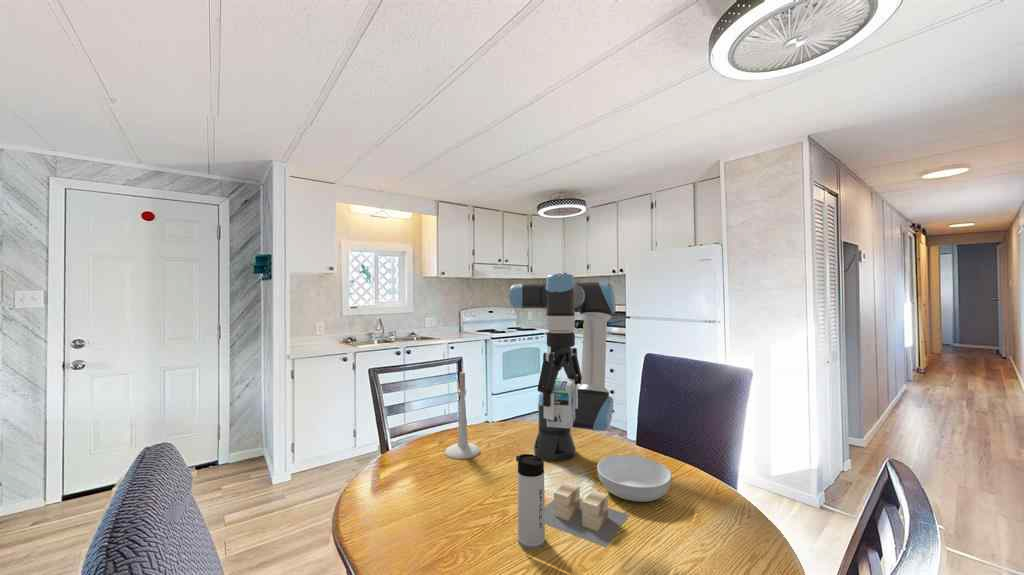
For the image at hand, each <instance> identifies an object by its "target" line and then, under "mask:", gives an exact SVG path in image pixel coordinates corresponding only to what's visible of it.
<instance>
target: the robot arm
mask: <svg viewBox="0 0 1024 575" xmlns="http://www.w3.org/2000/svg"><path fill="white" fill-rule="evenodd" d="M508 301H509V303H510V306H511V307H512V308H513V309H521V310H523V309H546V330H547V333H546V346H548V347H549V348H550V351H549V352H543V354H542V364H541V370H540V376H539V379H538V380H539V381H538V385H537V392H539V394H538V403H537V407H538V409H537V410H538V412H537V413H538V433H537V436H536V440H535V442H534V446H533V453H534V454H533V455H536V456H539V457H541V458H542V460H543V461H548V462H565V461H569V460H572V459H573V458H575V456H576V455H577V454H576V446H575V442H574V439H573V437H572V433H571V429H569V428H557V427H547V419H550V420H554V393H552V390H553V387H554V384H555V381H556V378H558V376H559V371H561V370H562V369H563V371H564V373H565V375H566V377H567V379H575V420H574V423H573V426H572V429H573V428H574V429H583V430H589V431H590V430H591V431H599V432H600V431H601V432H604V431H605V432H606V431H607V430H608V429H609V428H610V425H611V421H612V418H613V412H614V398H613V397H611V396H610V391H609V390H608V389H607V388H606V365H607V364H606V362H607V361H606V359H607V358H606V357H607V356H606V355H607V332H608V331H607V330H608V327H607V325H608V321H609V320H611V318H612V314H614V313H616V311H617V310H616V308H617V304H616V303H617V302H616V297H615V291H614V288H613V285H612V284H611V283H610V282H607V281H606V282H604V281H591V282H590V281H589V282H586V281H585V282H575V277H574V275H573V274H571V273H553V274H551V273H550V274H548V275H547V276H546V282H545V283H518V284H517V283H516V284H512V285H511V286H510V288H509V292H508ZM575 313H579V317H580V318H581V319H582V320H583V328H582V331H583V333H582V351H581V352H582V353H581V368H580V363H579V359H578V349H577V348H576V347H575V345H576V342H575V341H576V340H575V339H576V334H575V332H573V331H575V330H576V326H575V323H576V322H575ZM574 347H575V348H574ZM578 385H579V386H578Z"/></svg>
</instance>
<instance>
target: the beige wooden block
mask: <svg viewBox="0 0 1024 575" xmlns="http://www.w3.org/2000/svg"><path fill="white" fill-rule="evenodd" d="M580 493H581V492H580V485H578V484H574V483H571V482H568V481H566V482H564V483H563V484H562V485H561V486H559V487H558V489H556V490H555V491H554V492H553V500H554V516H556V517H559V518H562V519H565V520H567V521H568V520H569V519H570V518H571V517H572V516H573V515H574V514H575V513H576V512H577V511H578V510H579V509H580V499H581V498H580Z"/></svg>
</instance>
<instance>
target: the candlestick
mask: <svg viewBox="0 0 1024 575" xmlns="http://www.w3.org/2000/svg"><path fill="white" fill-rule="evenodd" d="M457 392H458V396H459V414H458V415H459V416H458V433H457V434H458V436H457V443H454V444H452V445H450V446H447V448H446V449H445V456H446V457H447V458H450V459H452V460H468V459H472V458H475V457H477V456H478V455H479V454H480V453H481V448H480V447H479V446H478V445H477V444H474V443H471V442H469V441H468V440H469V439H468V426H467V412H466V411H467V409H466V398H465V397H466V395H467V392H468V389H466V372H463V371H460V372H459V389H457Z"/></svg>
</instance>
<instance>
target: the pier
mask: <svg viewBox="0 0 1024 575" xmlns="http://www.w3.org/2000/svg"><path fill="white" fill-rule="evenodd" d="M582 500H583V501H582V526H584V527H587V528H590V529H592V530H595V531H598V530H599V529H600V527H601V526H602V525H603V524H604V522H605V521H606V520H607V519H608V508H609V494H608V493H604V492H601V491H598V490H595V489H593V490H592V491H591V492H590V493H589V494H588V495H587V496H586V497H585V498H584V499H582Z"/></svg>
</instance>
